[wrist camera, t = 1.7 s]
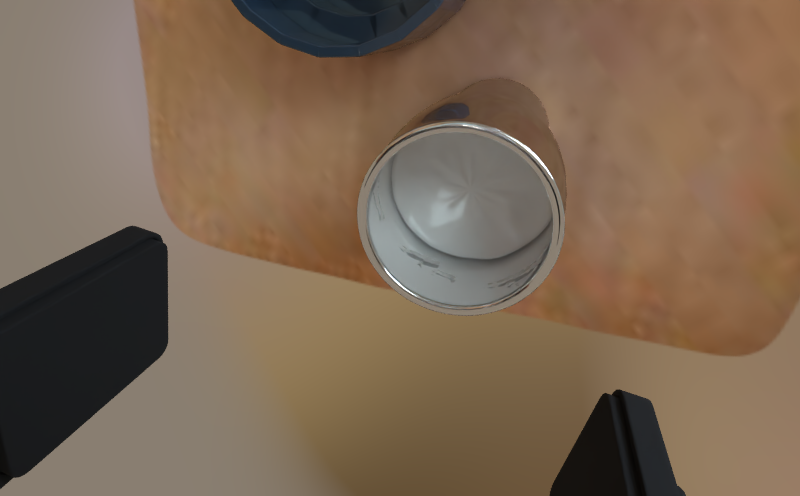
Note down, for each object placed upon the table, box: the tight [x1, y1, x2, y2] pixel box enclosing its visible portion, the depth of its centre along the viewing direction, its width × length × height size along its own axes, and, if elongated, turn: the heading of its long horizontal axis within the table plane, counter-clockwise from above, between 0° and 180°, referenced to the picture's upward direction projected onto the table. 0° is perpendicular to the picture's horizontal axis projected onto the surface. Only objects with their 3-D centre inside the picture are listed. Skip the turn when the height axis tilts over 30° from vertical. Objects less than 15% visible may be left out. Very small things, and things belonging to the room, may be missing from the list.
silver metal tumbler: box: [357, 78, 567, 316], centre depth 22 cm, size 7×7×15 cm
